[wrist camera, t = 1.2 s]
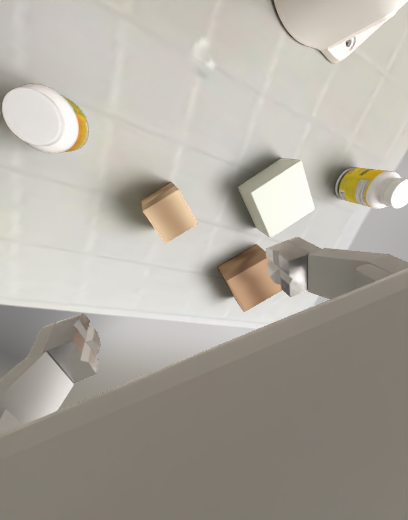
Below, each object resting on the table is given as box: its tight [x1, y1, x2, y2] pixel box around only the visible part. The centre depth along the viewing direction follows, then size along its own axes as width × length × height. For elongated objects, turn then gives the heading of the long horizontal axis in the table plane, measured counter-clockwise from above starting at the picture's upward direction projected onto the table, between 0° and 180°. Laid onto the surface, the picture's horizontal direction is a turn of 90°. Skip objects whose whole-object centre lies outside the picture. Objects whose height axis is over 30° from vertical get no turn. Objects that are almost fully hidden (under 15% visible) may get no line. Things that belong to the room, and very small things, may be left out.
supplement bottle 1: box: [2, 84, 89, 153], centre depth 22 cm, size 5×5×10 cm
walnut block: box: [218, 244, 282, 312], centre depth 41 cm, size 8×8×5 cm
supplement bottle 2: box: [335, 168, 408, 208], centre depth 36 cm, size 5×5×10 cm
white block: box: [238, 158, 315, 238], centre depth 35 cm, size 8×8×5 cm
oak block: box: [141, 182, 198, 243], centre depth 31 cm, size 5×5×6 cm
